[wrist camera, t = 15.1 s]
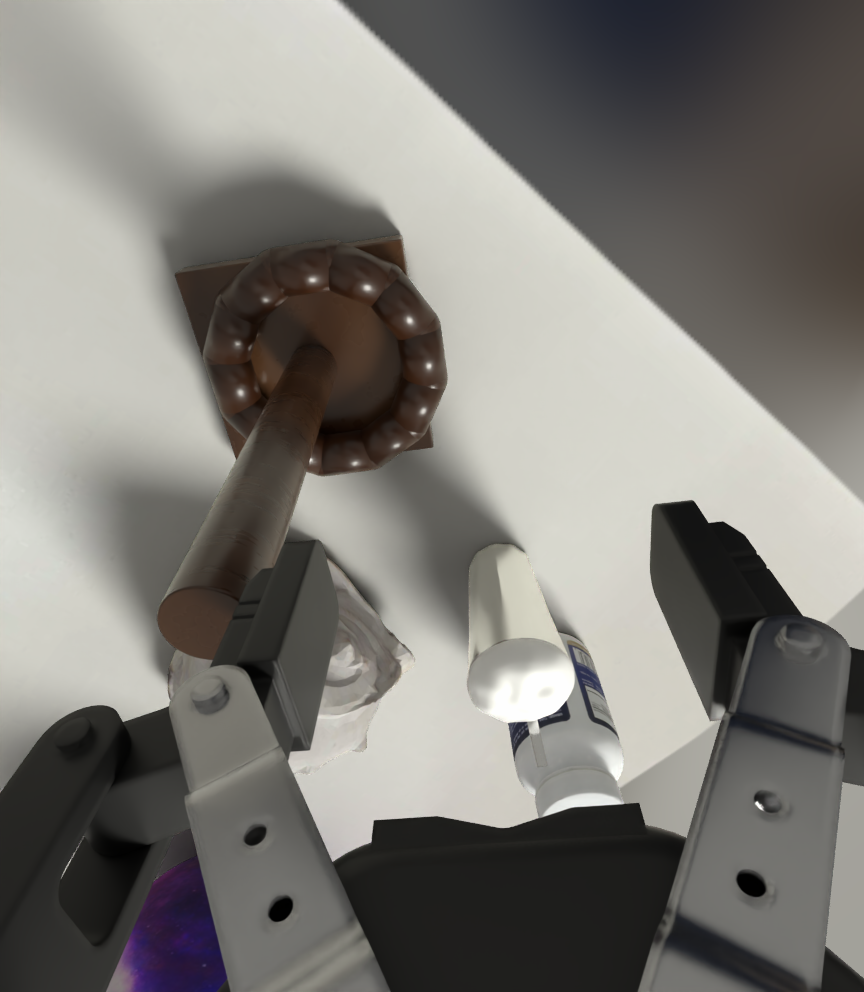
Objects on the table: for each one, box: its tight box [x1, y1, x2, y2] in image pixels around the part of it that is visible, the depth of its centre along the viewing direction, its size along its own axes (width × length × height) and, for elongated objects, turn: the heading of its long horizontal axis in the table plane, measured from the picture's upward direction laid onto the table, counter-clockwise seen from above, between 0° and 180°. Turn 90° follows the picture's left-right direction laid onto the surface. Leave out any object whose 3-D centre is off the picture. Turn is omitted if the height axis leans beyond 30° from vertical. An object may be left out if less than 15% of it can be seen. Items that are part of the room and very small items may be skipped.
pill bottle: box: [508, 633, 624, 818], centre depth 33 cm, size 5×5×10 cm
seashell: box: [168, 557, 415, 775], centre depth 32 cm, size 12×14×10 cm
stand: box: [157, 235, 433, 660], centre depth 20 cm, size 9×9×17 cm
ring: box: [203, 239, 448, 476], centre depth 26 cm, size 10×10×2 cm
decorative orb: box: [106, 856, 228, 992], centre depth 41 cm, size 15×15×15 cm
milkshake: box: [467, 544, 575, 768], centre depth 30 cm, size 4×5×10 cm
